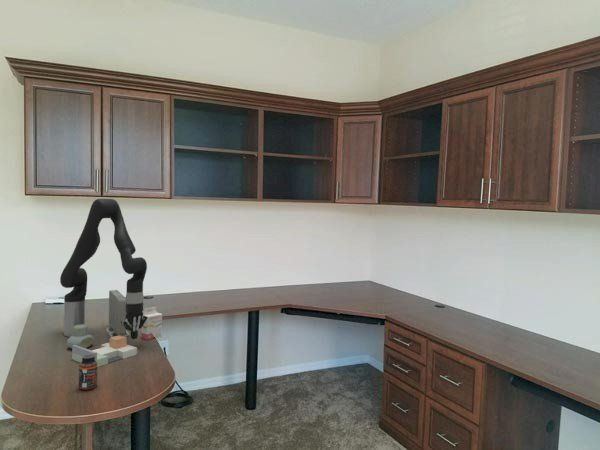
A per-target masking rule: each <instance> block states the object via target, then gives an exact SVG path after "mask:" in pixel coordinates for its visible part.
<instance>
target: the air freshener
mask: <svg viewBox="0 0 600 450" xmlns="http://www.w3.org/2000/svg"><path fill="white" fill-rule="evenodd" d="M94 341H95V339H94V336H93V335H92V334H90V333H89V325H87V324H86V323H85V324H81V325H76V326H74V327H73V336H71V337H69V338H68V339H67V340H66V344H67V346H68V347H69V348H70V349H72V345H77V346H80V347H83V348H86V349H88V348H89V347H90V346H92V345H93V343H94Z"/></svg>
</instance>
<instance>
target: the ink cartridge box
mask: <svg viewBox="0 0 600 450" xmlns="http://www.w3.org/2000/svg"><path fill="white" fill-rule="evenodd" d="M142 312H143V315H144V316H147V319H146V321H145V323H144V325H143V326H142V328H141V339H143V340H146V341H150V340H153V338H154V337H155V338H154V339H158V338H161V337H162V336H163V335H162V333H163V332H162V331H163V329H162V328H163V314H162V313H160V312H158V306H154V307H153V306H152V307H145V308H143V311H142Z"/></svg>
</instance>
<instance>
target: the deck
mask: <svg viewBox="0 0 600 450" xmlns="http://www.w3.org/2000/svg"><path fill="white" fill-rule="evenodd" d="M71 351H72V353H71V355H72V356H71V360H72V361H75V362H77V363H79V364H80V363H81V362H82V357H83V356H84V355H94V356H95V359H94V360H95V361H97V368H98V367H99V368H100V367H102V366H106V365H108V364H112V363H115V362H117V361H120V360H124V359H126V358H130V357H131V358H132V357H133V356H137V355H138V348H137V347H136V346H133V345H129V344H126V346H125V347H122V348H119V349H114V348H111V347H109V342H106V343H103V344H101V345H100V348H97V349H93V350H91V349H88V348H83V347H80V346H77V345H72V348H71Z"/></svg>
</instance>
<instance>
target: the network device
mask: <svg viewBox="0 0 600 450" xmlns="http://www.w3.org/2000/svg"><path fill="white" fill-rule="evenodd" d="M125 316H126V296H125V295H123V294H122V292H120V291H119V290H118V289H112V290H108V325H109V326H110V327H106V329H105V330H106V332H107V334H108V336H109V338H111V337H115V336H119V335H121V336H124V337H126V336H127V337H129V336H130V333H129V330H126V328H125V327H124V326H123V325H122V324H121V321H123V320H124V319H125ZM111 330H112V331H111ZM114 335H115V336H114Z"/></svg>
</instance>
